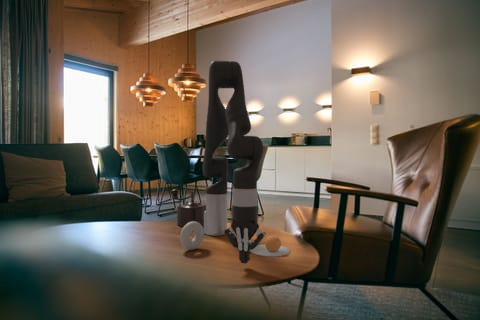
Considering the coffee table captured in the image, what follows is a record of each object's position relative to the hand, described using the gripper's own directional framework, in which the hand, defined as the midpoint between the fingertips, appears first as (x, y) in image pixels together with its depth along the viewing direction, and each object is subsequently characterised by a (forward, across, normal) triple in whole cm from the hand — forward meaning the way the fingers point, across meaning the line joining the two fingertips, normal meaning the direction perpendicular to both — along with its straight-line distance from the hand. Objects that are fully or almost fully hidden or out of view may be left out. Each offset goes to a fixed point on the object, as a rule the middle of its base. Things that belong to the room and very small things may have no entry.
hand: (244, 262), depth 90 cm
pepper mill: (+2, -48, +42) cm, 64 cm away
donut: (+2, -24, +9) cm, 26 cm away
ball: (-1, +2, +19) cm, 19 cm away
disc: (+2, +1, +20) cm, 20 cm away
